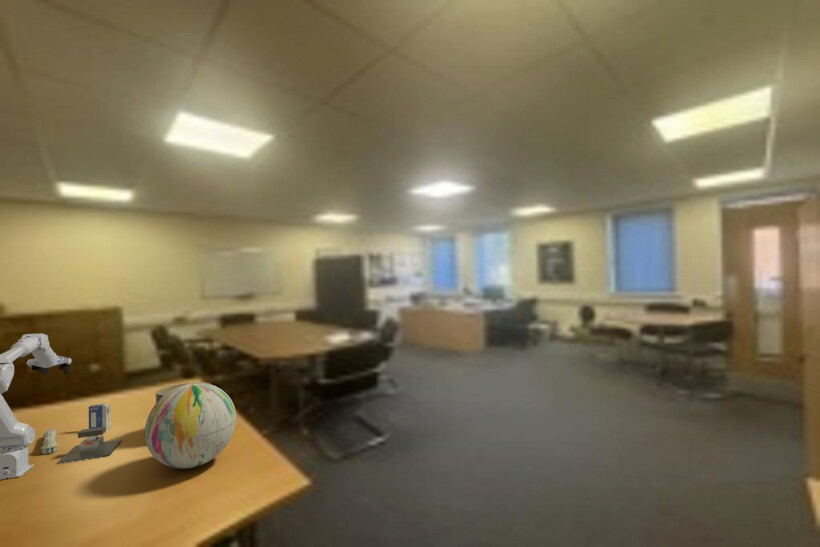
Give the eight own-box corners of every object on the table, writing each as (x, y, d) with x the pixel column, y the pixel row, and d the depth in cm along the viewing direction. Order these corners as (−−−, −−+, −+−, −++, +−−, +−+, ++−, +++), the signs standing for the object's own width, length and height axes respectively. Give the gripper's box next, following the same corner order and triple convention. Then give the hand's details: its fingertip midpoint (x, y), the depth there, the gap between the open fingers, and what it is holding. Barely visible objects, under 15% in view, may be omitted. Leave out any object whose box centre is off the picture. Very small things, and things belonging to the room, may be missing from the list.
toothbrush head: (57, 427, 180) (58, 434, 162) (57, 442, 179) (58, 451, 161) (42, 430, 177) (40, 437, 158) (42, 445, 176) (40, 455, 158)
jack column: (102, 449, 161) (102, 429, 161) (77, 452, 158) (77, 433, 158) (105, 445, 164) (105, 426, 164) (81, 448, 161) (81, 429, 161)
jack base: (109, 456, 156) (109, 443, 157) (58, 464, 150) (58, 450, 151) (121, 441, 171) (121, 429, 171) (75, 447, 165) (75, 435, 165)
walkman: (88, 432, 184) (88, 406, 184) (92, 429, 186) (92, 404, 187) (107, 430, 185) (107, 404, 185) (110, 428, 187) (110, 403, 188)
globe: (253, 457, 153) (252, 379, 154) (174, 493, 127) (173, 399, 128) (207, 442, 168) (206, 371, 169) (128, 472, 143) (127, 388, 143)
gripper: (69, 345, 167) (80, 364, 176) (27, 347, 163) (41, 365, 172) (62, 359, 162) (74, 377, 171) (18, 361, 158) (33, 379, 167)
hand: (57, 372), depth 171 cm, fingers open, 7 cm apart
